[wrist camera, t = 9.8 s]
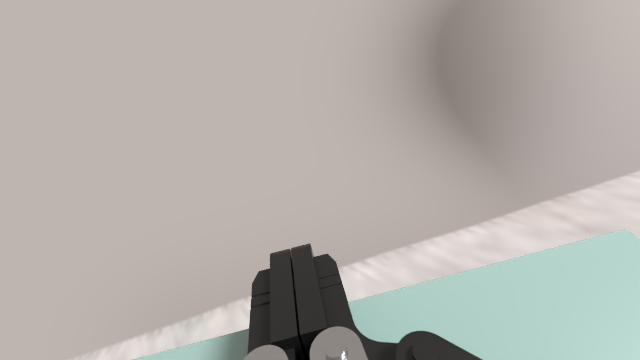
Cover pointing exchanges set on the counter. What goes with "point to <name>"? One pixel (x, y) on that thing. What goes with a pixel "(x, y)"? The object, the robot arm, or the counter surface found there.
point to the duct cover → (504, 308)
